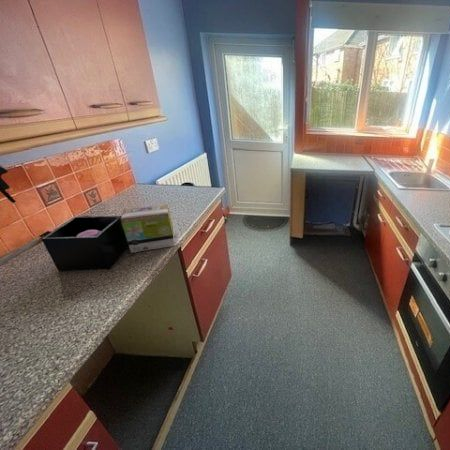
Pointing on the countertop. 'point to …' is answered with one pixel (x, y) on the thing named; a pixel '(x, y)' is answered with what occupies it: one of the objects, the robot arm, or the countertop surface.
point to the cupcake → (89, 233)
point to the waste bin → (87, 243)
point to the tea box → (148, 227)
